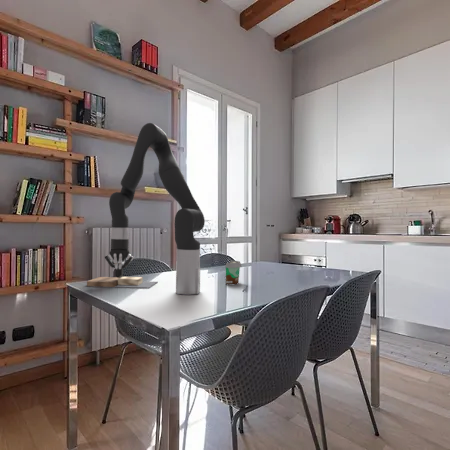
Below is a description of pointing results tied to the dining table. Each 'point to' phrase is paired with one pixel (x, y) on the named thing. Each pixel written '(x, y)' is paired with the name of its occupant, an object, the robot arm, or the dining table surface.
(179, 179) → the robot arm
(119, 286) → the charcoal mat
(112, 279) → the block
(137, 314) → the dining table surface
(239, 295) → the dining table surface
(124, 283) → the beech tile
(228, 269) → the food container
